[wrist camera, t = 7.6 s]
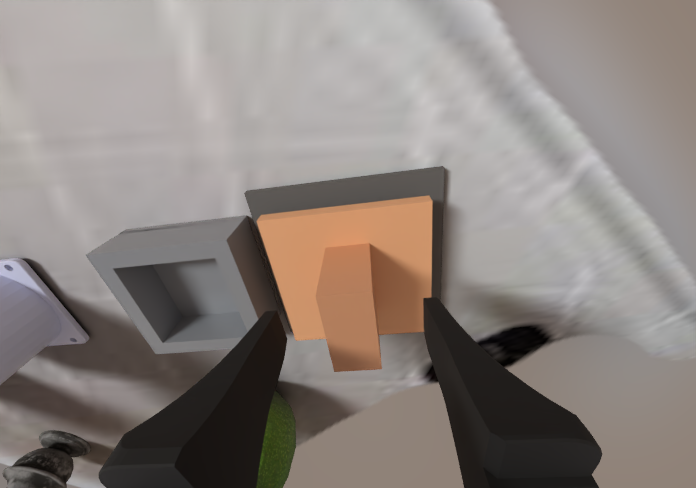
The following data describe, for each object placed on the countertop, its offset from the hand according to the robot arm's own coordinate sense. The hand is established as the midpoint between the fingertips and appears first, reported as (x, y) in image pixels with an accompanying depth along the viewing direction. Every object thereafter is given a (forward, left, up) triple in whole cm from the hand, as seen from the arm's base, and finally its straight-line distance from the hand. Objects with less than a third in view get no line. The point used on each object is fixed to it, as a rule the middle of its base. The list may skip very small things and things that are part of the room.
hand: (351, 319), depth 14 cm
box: (-10, 0, -5) cm, 11 cm away
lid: (0, 0, -4) cm, 4 cm away
